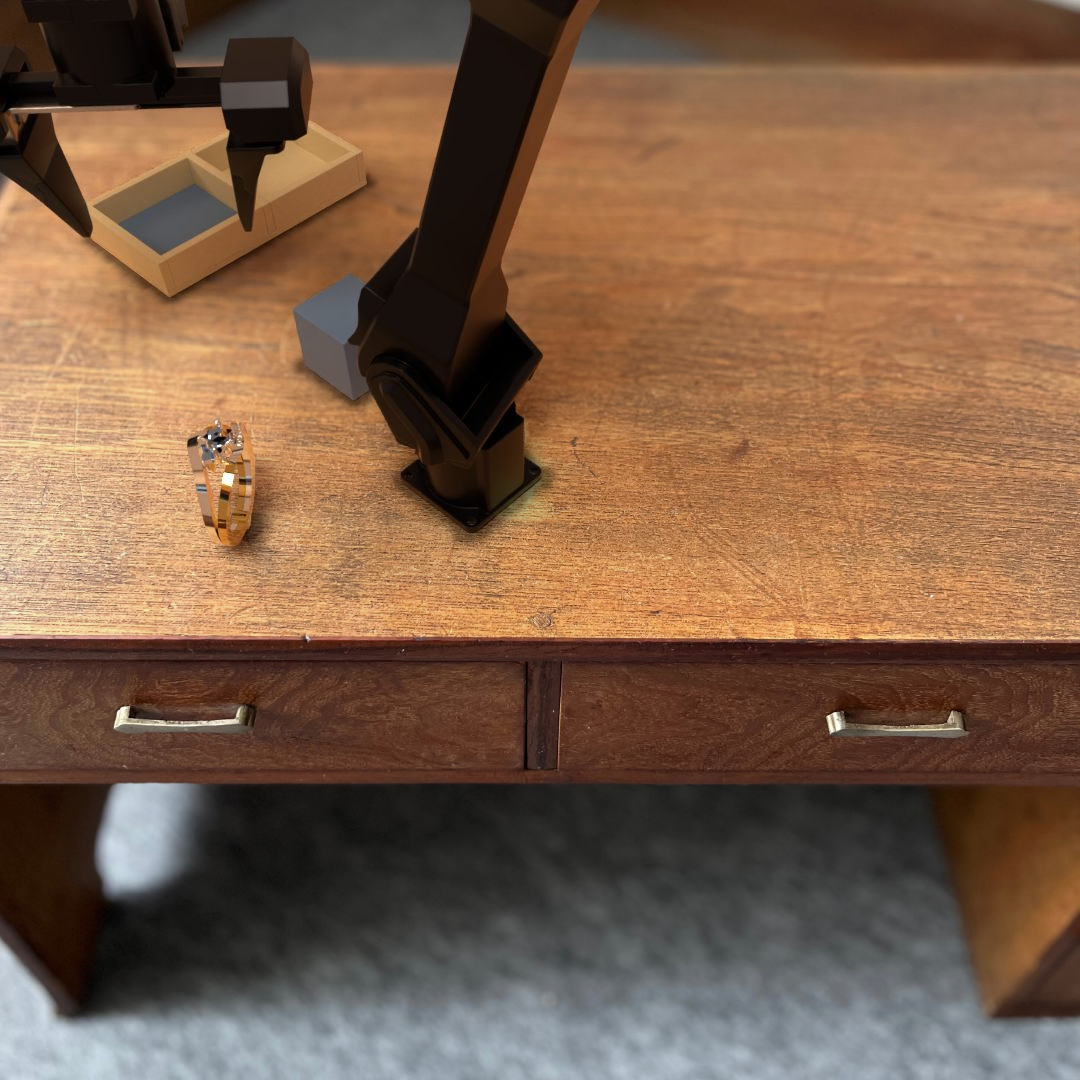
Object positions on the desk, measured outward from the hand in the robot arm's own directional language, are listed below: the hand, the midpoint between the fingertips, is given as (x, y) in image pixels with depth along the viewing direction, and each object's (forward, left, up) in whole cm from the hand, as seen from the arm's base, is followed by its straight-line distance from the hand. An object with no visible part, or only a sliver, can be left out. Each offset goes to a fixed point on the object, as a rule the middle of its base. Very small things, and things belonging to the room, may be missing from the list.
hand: (169, 230), depth 62 cm
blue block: (-5, -8, -12) cm, 16 cm away
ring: (-11, +6, -13) cm, 18 cm away
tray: (+15, -13, -12) cm, 23 cm away
